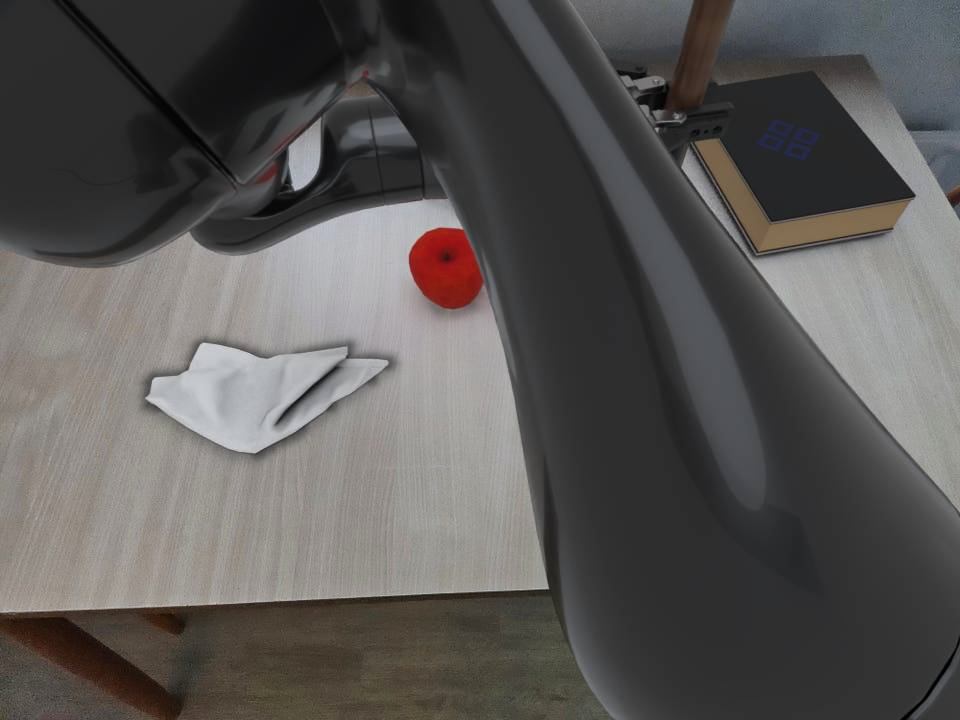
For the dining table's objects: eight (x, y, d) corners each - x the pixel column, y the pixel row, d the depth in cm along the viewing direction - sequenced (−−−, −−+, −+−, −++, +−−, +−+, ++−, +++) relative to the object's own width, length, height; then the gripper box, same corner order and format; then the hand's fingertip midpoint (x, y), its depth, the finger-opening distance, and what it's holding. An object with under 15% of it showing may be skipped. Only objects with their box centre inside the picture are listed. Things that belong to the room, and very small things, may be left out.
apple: (399, 295, 76) (389, 250, 70) (452, 255, 80) (447, 208, 73) (451, 337, 73) (445, 293, 66) (505, 293, 76) (504, 247, 69)
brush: (667, 271, 57) (796, -91, 33) (623, 278, 56) (724, -83, 33) (651, 238, 59) (762, -122, 35) (609, 245, 58) (694, -116, 35)
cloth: (125, 447, 67) (114, 437, 65) (170, 339, 74) (161, 327, 72) (371, 461, 65) (366, 452, 63) (392, 349, 72) (389, 337, 70)
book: (795, 112, 92) (813, 69, 86) (888, 236, 78) (917, 195, 73) (679, 131, 91) (689, 89, 85) (753, 261, 77) (772, 220, 72)
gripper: (507, 159, 37) (788, 119, 38) (461, 28, 44) (698, 0, 46) (503, 250, 43) (745, 212, 45) (463, 122, 50) (672, 94, 52)
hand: (720, 105), depth 45 cm, fingers closed on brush, 2 cm apart
